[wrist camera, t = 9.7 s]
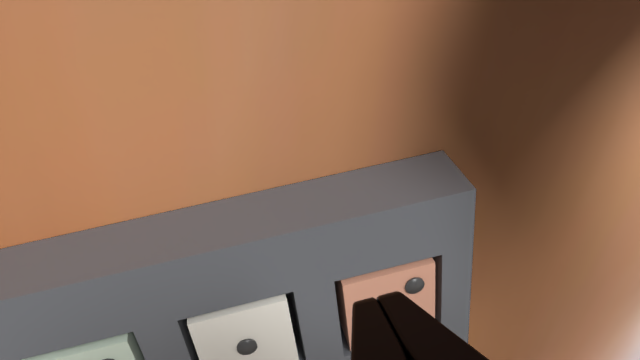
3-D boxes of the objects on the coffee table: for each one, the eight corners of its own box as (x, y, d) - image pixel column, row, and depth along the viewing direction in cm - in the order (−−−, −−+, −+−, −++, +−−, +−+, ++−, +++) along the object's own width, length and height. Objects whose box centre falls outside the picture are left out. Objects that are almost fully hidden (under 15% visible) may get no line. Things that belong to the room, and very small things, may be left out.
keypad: (443, 150, 23) (476, 189, 21) (440, 318, 29) (466, 364, 26) (-43, 258, 21) (-71, 317, 18) (57, 419, 26) (46, 481, 24)
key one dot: (276, 259, 23) (287, 301, 21) (289, 322, 26) (300, 366, 23) (185, 281, 23) (187, 327, 21) (205, 344, 25) (209, 390, 23)
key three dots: (413, 226, 24) (436, 264, 22) (414, 290, 26) (435, 329, 24) (327, 247, 24) (343, 287, 22) (336, 310, 26) (351, 352, 24)
